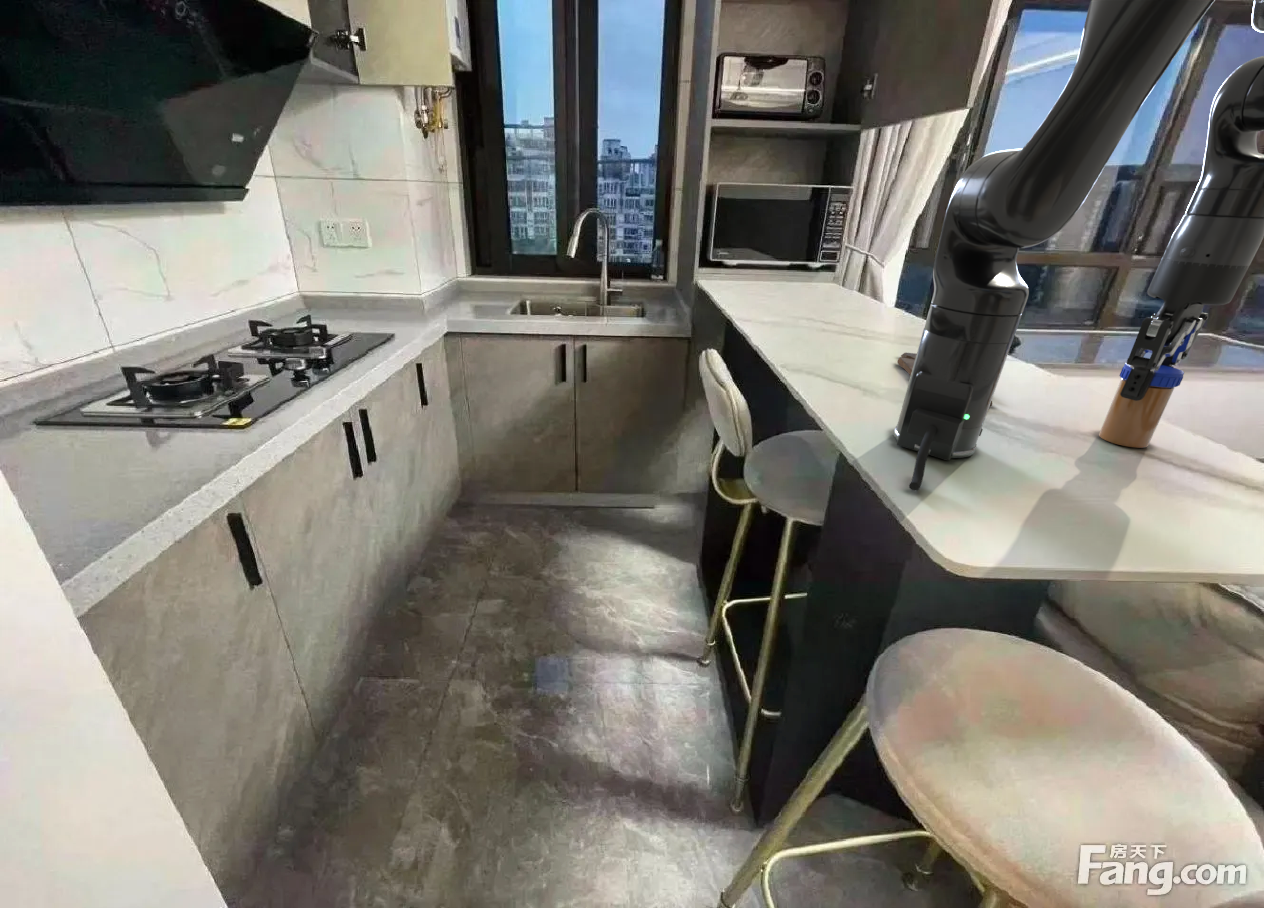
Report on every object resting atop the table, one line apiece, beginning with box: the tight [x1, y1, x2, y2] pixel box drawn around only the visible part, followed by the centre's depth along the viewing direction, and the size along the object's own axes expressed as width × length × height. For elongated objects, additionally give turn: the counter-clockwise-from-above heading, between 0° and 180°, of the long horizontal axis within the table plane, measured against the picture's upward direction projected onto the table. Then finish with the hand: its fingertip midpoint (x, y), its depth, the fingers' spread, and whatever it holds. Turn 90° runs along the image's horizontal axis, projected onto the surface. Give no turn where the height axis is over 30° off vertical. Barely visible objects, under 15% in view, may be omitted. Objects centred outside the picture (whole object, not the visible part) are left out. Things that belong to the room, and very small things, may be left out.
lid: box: [1119, 362, 1185, 388], centre depth 69 cm, size 6×6×2 cm
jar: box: [1098, 378, 1175, 449], centre depth 71 cm, size 5×5×9 cm
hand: (1140, 394), depth 71 cm, fingers closed on lid, 5 cm apart
